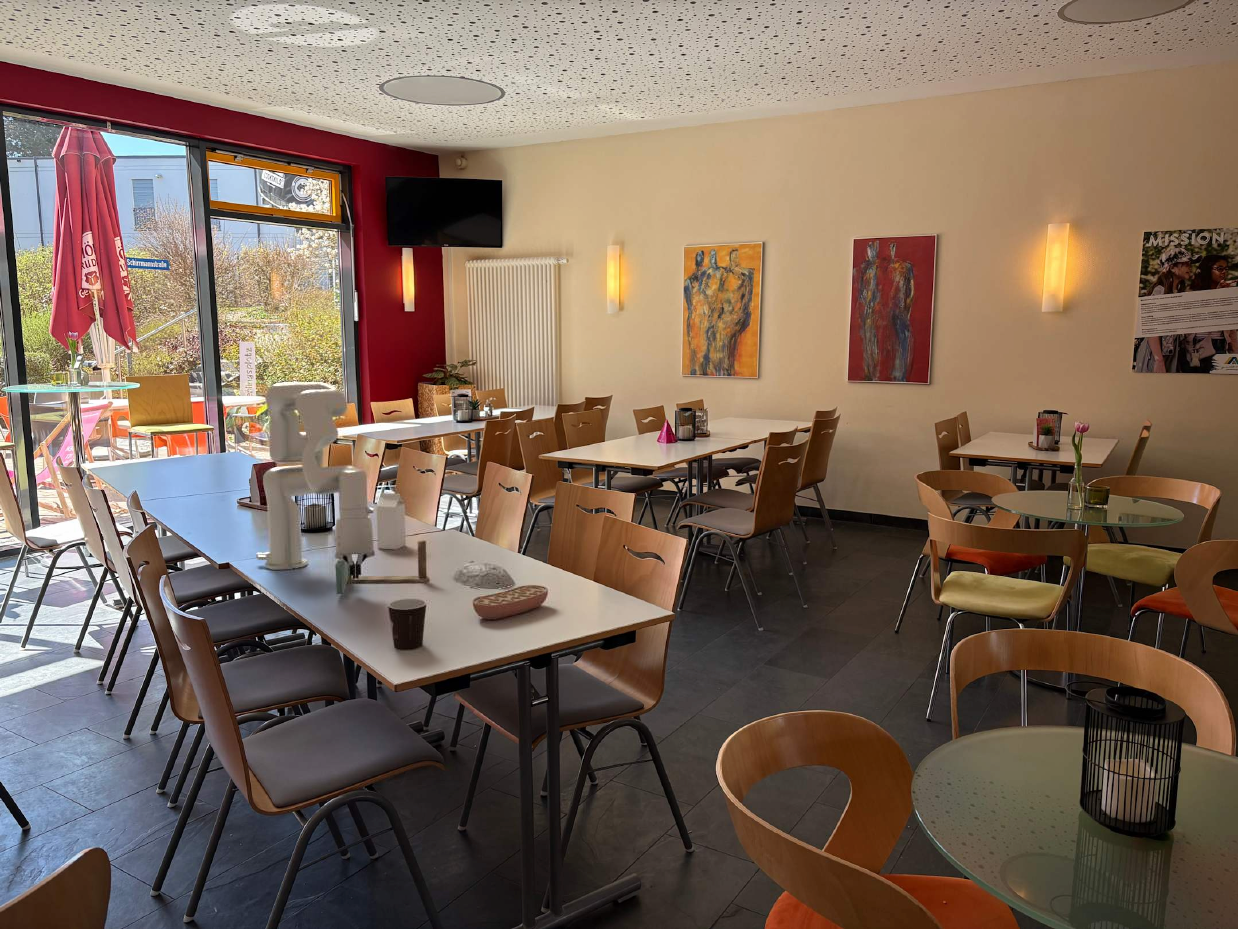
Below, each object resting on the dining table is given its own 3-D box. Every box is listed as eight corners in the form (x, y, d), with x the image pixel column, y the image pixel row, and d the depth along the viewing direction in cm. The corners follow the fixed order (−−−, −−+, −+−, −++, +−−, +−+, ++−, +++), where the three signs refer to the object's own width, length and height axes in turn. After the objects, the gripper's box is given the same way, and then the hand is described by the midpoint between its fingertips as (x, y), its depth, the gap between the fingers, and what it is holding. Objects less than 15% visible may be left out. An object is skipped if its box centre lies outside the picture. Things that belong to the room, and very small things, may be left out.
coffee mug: (396, 639, 205) (395, 598, 204) (432, 640, 205) (431, 599, 203) (378, 655, 194) (377, 612, 193) (416, 657, 193) (415, 613, 192)
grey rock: (487, 592, 245) (488, 569, 245) (437, 581, 263) (438, 558, 263) (529, 588, 256) (530, 565, 256) (478, 577, 274) (479, 556, 274)
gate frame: (340, 583, 255) (339, 543, 253) (344, 579, 259) (342, 540, 257) (426, 582, 256) (425, 542, 255) (428, 579, 260) (427, 539, 259)
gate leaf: (344, 577, 255) (343, 549, 254) (349, 577, 256) (348, 549, 255) (336, 594, 237) (335, 564, 236) (342, 594, 237) (341, 564, 236)
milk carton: (396, 549, 298) (395, 495, 296) (377, 548, 300) (376, 494, 297) (405, 545, 305) (404, 492, 303) (387, 544, 307) (385, 491, 304)
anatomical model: (532, 600, 239) (532, 583, 238) (557, 608, 232) (557, 590, 232) (465, 619, 222) (465, 600, 221) (490, 627, 215) (490, 608, 215)
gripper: (380, 509, 247) (382, 572, 249) (325, 512, 242) (327, 576, 244) (382, 514, 240) (384, 579, 242) (325, 517, 235) (327, 583, 237)
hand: (355, 577), depth 243 cm, fingers closed
